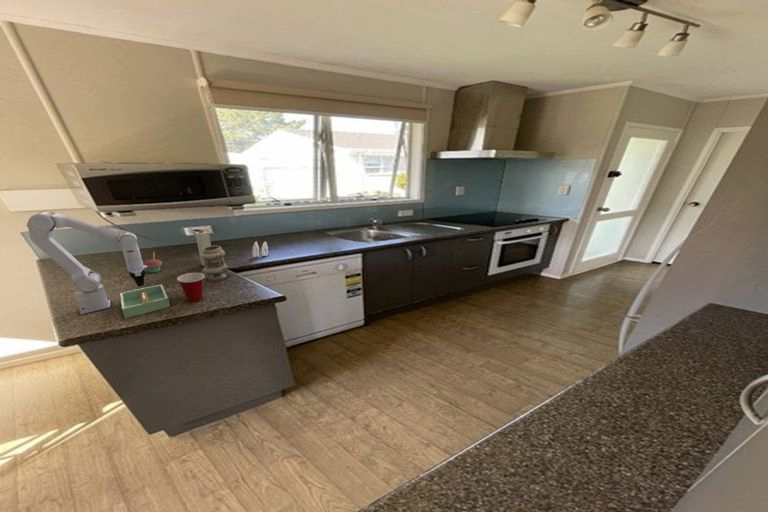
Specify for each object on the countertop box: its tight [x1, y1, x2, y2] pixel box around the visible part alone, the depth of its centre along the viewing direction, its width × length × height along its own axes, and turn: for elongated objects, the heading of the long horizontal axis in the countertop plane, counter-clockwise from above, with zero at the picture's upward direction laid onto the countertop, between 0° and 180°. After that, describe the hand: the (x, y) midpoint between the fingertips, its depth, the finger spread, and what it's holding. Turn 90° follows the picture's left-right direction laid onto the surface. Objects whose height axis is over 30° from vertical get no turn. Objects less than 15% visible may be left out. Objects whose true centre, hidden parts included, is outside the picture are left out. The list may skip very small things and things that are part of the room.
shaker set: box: [252, 241, 269, 259], centre depth 196 cm, size 12×4×11 cm, turn 144°
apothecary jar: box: [201, 245, 229, 282], centre depth 159 cm, size 12×12×18 cm
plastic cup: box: [176, 272, 206, 303], centre depth 135 cm, size 11×11×12 cm
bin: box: [119, 283, 171, 319], centre depth 131 cm, size 16×20×4 cm
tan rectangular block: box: [139, 291, 150, 303], centre depth 132 cm, size 3×15×8 cm, turn 43°
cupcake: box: [143, 252, 163, 273], centre depth 167 cm, size 9×8×12 cm
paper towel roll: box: [195, 230, 212, 267], centre depth 178 cm, size 7×6×21 cm
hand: (140, 285), depth 135 cm, fingers closed
